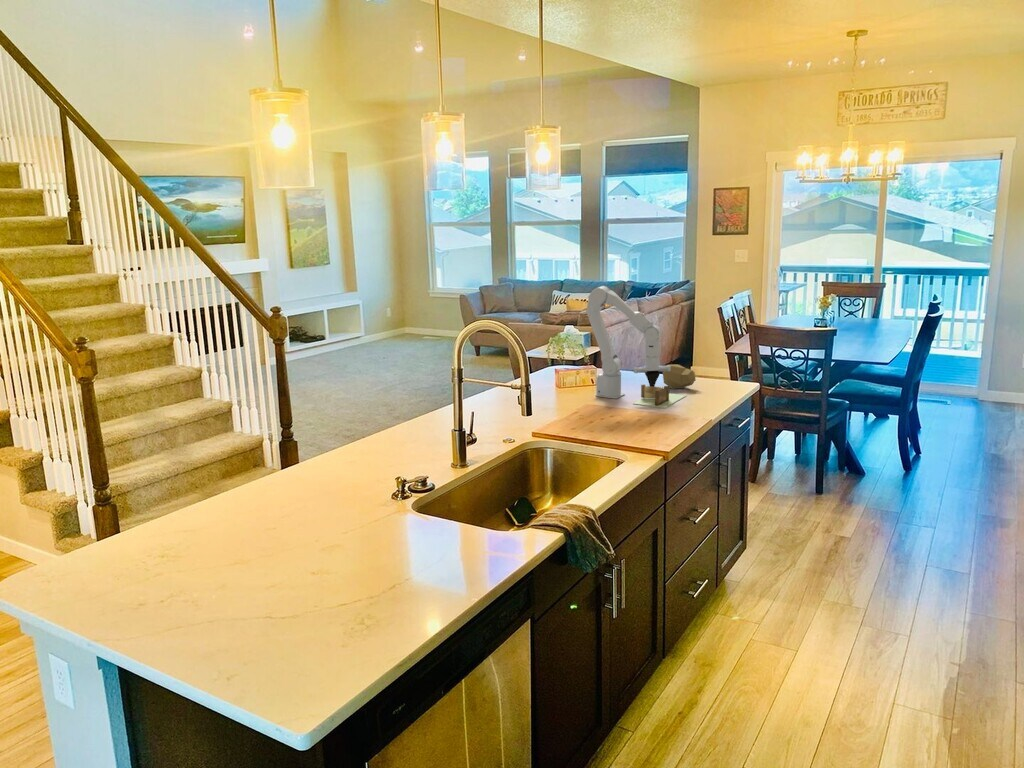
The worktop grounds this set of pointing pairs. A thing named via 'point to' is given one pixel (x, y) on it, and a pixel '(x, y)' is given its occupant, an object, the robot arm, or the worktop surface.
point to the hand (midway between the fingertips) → (651, 389)
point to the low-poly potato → (678, 377)
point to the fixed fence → (661, 395)
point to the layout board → (664, 404)
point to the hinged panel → (649, 391)
